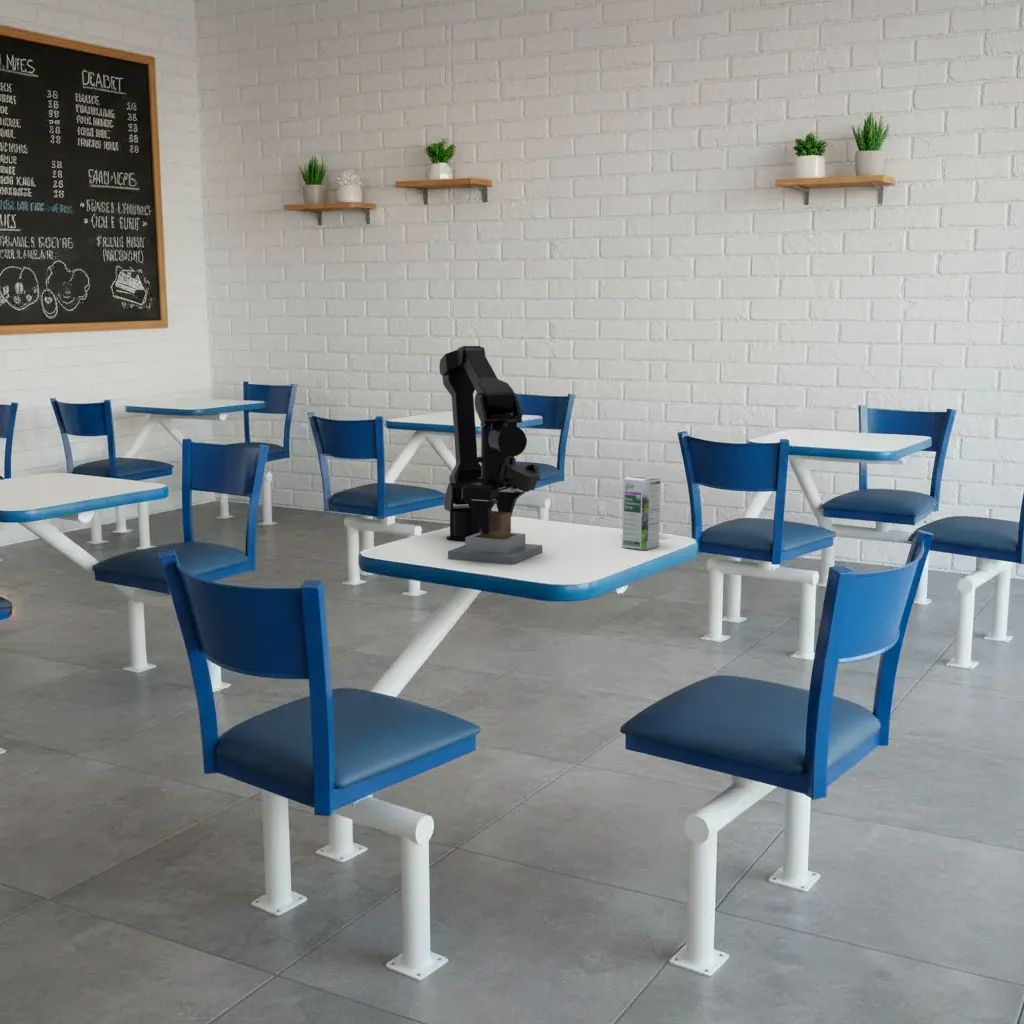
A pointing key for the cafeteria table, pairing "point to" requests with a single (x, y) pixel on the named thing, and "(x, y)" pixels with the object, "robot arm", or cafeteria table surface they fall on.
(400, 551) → the cafeteria table surface
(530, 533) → the cafeteria table surface
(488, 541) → the socket block
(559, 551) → the cafeteria table surface
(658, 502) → the syrup box
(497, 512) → the walnut peg
